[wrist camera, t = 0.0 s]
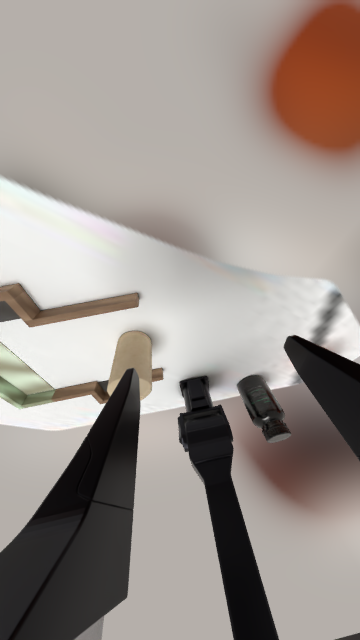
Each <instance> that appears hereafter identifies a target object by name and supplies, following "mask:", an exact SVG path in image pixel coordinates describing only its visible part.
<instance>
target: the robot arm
mask: <svg viewBox="0 0 360 640" xmlns="http://www.w3.org/2000/svg"><path fill="white" fill-rule="evenodd" d="M284 349H285V351H286V353H287V355H288V357H289V358H290V360H291V362H292V364H293V366H294V367H295V369H296V371H297V372H298V374H299V375H300V377H301V378H302V380H303V381H304V383H305V384H306V385H307V387H308V388H309V390H310V391H311V393H312V394H313V395H314V397H315V398H316V400H317V401H318V402H319V404H320V405H321V407H322V408H323V410H324V411H325V412H326V414H327V415H328V417H329V418H330V419H331V421H332V422H333V424H334V425H335V426H336V428H337V429H338V431H339V432H340V434H341V435H342V436H343V438H344V439H345V441H346V442H347V444H348V445H349V446H350V448H351V449H352V451H353V452H354V453H355V455H356V456H357V457H358V459H359V461H360V364H358V363H356V362H353V361H351V360H349V359H347V358H345V357H342V356H340V355H338V354H336V353H334V352H332V351H329V350H327V349H325V348H323V347H321V346H318V345H316V344H314V343H312V342H310V341H308V340H305V339H303V338H301V337H299V336H296V335H292V336H288V337H287V339H286V342H285V344H284ZM180 388H181V392H182V396H183V398H184V400H185V406H186V411H187V412H186V413H180V417H178V425H179V440H180V443H181V444H182V445H183V447H184V449H185V452H188V451H189V457H190V461H191V464H192V466H193V468H194V470H195V471H196V473H197V474H198V476H199V477H200V479H201V480H202V482H203V483H204V485H205V489H206V494H207V500H208V505H209V510H210V515H211V521H212V526H213V531H214V537H215V542H216V547H217V553H218V558H219V563H220V568H221V574H222V579H223V585H224V590H225V595H226V600H227V606H228V611H229V616H230V622H231V626H232V632H233V638H234V640H279V639H278V635H277V631H276V628H275V624H274V621H273V618H272V614H271V611H270V607H269V604H268V601H267V597H266V594H265V591H264V587H263V584H262V581H261V577H260V574H259V570H258V566H257V563H256V560H255V556H254V553H253V549H252V546H251V543H250V539H249V536H248V532H247V529H246V526H245V522H244V519H243V515H242V512H241V509H240V505H239V502H238V498H237V495H236V492H235V488H234V485H233V481H232V478H231V465H232V457H233V445H232V442H233V436H232V432H231V429H230V425H229V422H228V420H227V418H226V415H225V413H224V411H223V408H222V406H221V405H218V406H215V407H213V404H212V400H211V397H210V394H209V381H208V377H207V376H205V377H200V378H195V379H190V380H186V381H181V382H180ZM139 420H140V385H139V376H138V374H137V372H136V370H135V368H129V369H127V370H126V371H125V373H124V374H123V376H122V378H121V379H120V381H119V383H118V384H117V386H116V388H115V389H114V391H113V393H112V394H111V396H110V398H109V399H108V401H107V403H106V404H105V406H104V408H103V409H102V411H101V413H100V414H99V416H98V418H97V419H96V421H95V423H94V424H93V426H92V428H91V429H90V432H89V433H88V435H87V437H86V438H85V439H84V441H83V443H82V444H81V446H80V448H79V449H78V451H77V453H76V454H75V456H74V457H73V459H72V460H71V462H70V463H69V465H68V466H67V468H66V469H65V471H64V472H63V474H62V475H61V477H60V478H59V480H58V481H57V482H56V484H55V485H54V487H53V488H52V490H51V491H50V492H49V494H48V495H47V497H46V498H45V500H44V501H43V502H42V504H41V505H40V507H39V508H38V510H37V511H36V512H35V514H34V515H33V517H32V518H31V519H30V521H29V522H28V523H27V525H26V526H25V527H24V528H23V529H22V530H21V532H20V533H19V534H18V535H17V536H16V537H15V538H14V540H13V541H12V542H11V543H10V544H9V545H8V546H7V547H6V548H5V549H3V551H2V552H0V640H101V638H102V629H103V621H104V615H106V614H107V613H108V612H109V611H111V610H112V609H113V608H114V607H116V606H117V605H118V604H119V603H121V602H122V601H123V600H125V599H126V598H127V593H128V581H129V566H130V552H131V537H132V522H133V507H134V492H135V478H136V463H137V449H138V434H139ZM335 640H360V633H358V634H354V635H350V636H346V637H343V638H339V639H335Z"/></svg>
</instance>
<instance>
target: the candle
mask: <svg viewBox="0 0 360 640" xmlns="http://www.w3.org/2000/svg"><path fill="white" fill-rule="evenodd" d="M129 368H135V370H136V372H137V374H138V376H139V385H140V400H142V399H144V398H145V397H147V396H148V395H149V394H150V392H151V390H152V346H151V340H150V338H149V337H148V336H147V335H146V334H144V333H142V332H138V331H130V332H127V333H124V334H123V335H122V336H121V337H120V338H119V340H118V343H117V347H116V351H115V356H114V360H113V365H112V369H111V374H110V378H109V382H108V387H107V392H108V394H109V395H110V396H111V394H112V393H113V391H114V389H115V388H116V386H117V384H118V383H119V381H120V379H121V378H122V376H123V374H124V373H125V371H126V370H127V369H129Z"/></svg>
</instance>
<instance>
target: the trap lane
mask: <svg viewBox="0 0 360 640" xmlns="http://www.w3.org/2000/svg"><path fill="white" fill-rule="evenodd" d="M138 306H139V297H138V294H137V293H134V294H129V295H124V296H118V297H113V298H107V299H102V300H97V301H91V302H86V303H81V304H75V305H70V306H64V307H59V308H54V309H48V310H43V311H40V309H39V308H38V307H37V306H36V304H35V303H34V302H33V301H32V299H31V298H30V297H29V296H28V294H27V293H26V292H25V291H24V289H23V288H22V287H21V286H20V284H19V283H18V284H13V285H7V286H2V287H0V322H4V321H9V320H15V319H20V318H21V319H22V320H23V321H24V322H25V323H26V324H27V325H28V326H29V327H35V326H40V325H45V324H50V323H56V322H61V321H66V320H72V319H77V318H82V317H87V316H93V315H98V314H103V313H109V312H114V311H119V310H125V309H130V308H135V307H138ZM159 380H163V370H162V368H159V369H154V370H152V382H154V381H159ZM108 382H109V380H108V381H103V382H97V381H95V382H90V383H85V384H80V385H75V386H70V387H65V388H60V389H56V390H54V388H52V387H51V386H50V385H49V384H48V383H47V382H46V381H44V380H43V379H42V378H41V377H40V376H39V375H37V374H36V373H35V372H34V371H33V370H32V369H31V368H29V367H28V366H27V365H26V364H25V363H24V362H23V361H21V360H20V359H19V358H18V357H17V356H16V355H14V354H13V353H12V352H11V351H10V350H9V349H8V348H6V347H5V346H4V345H3V344H2V343H1V342H0V398H2V399H4V400H5V401H7V402H8V403H10V404H12V405H13V406H15V407H17V408H18V409H23V408H28V407H32V406H37V405H42V404H47V403H52V402H57V401H62V400H66V399H71V398H76V397H81V396H86V395H92V396H93V397H94V398H95V399H96V400H97V401H98V402H99V403H100V404H103V403H107V401H108V399H109V398H110V395H109V394H108V392H107V387H108ZM49 390H51V391H49ZM44 391H46V392H44ZM39 392H41V393H39ZM34 393H36V394H34ZM29 394H31V395H29Z"/></svg>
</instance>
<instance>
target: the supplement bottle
mask: <svg viewBox="0 0 360 640" xmlns="http://www.w3.org/2000/svg"><path fill="white" fill-rule="evenodd" d="M237 388H238V391H239V393H240V396H241V398H242V400H243V402H244V404H245V406H246V409H247V411H248V413H249V415H250V418H251V419H252V422H253V423H254V425H255V426H257V427H259V428H262V429H263V430H262V433H263V435H264V436H265V438H266V440H267V442H269V443H273V442H278V441H281V440H284V439H286V438H288V437H290V436H291V432H290V431H289V429H288V427H287V425H286V423H284V422H283V420H284V418H285V413H284V411H283V409H282V408H281V406H280V405H279V403H278V401H277V400H276V398H275V396H274V395H273V393H272V392H271V390H270V388H269V387H268V385H267V384H266V382H265V380H264V379H263V378H262V377H260V376H249V377H247V378H245V379H243V380H242V381H240V382H239V384H238V387H237Z"/></svg>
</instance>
